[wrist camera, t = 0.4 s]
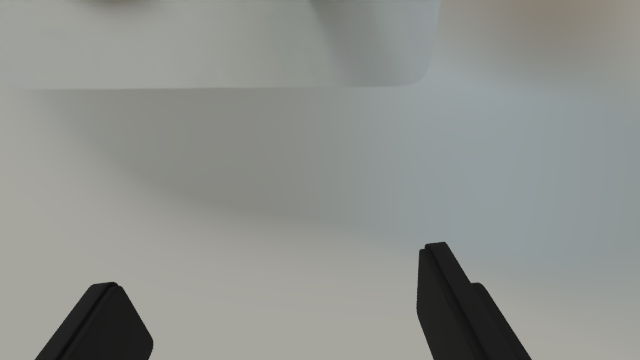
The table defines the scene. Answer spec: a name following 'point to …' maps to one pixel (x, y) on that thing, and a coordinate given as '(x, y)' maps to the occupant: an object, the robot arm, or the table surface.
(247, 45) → the table surface
